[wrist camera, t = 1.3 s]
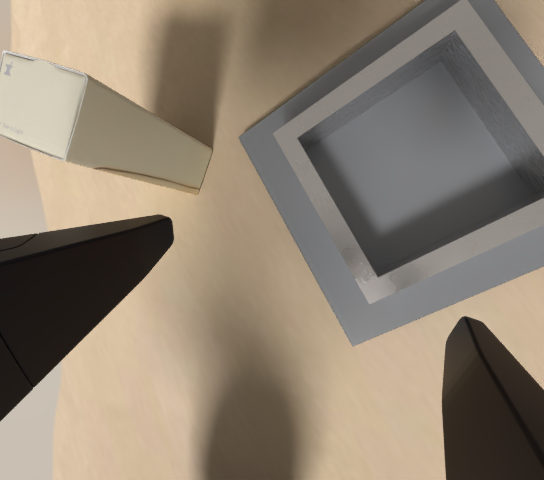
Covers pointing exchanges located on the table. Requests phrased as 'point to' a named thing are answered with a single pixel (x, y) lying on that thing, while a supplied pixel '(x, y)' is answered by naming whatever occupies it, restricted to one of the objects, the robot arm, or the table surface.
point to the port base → (403, 180)
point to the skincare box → (94, 125)
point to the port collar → (488, 106)
